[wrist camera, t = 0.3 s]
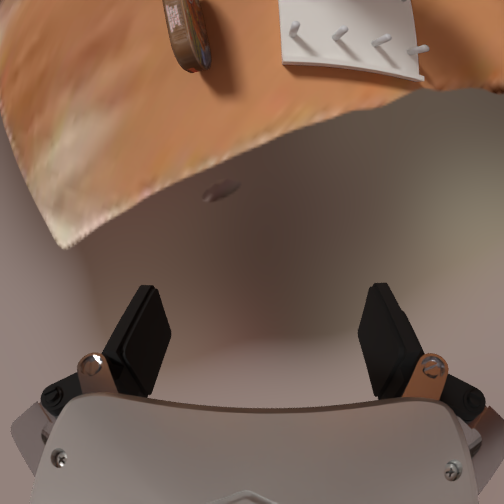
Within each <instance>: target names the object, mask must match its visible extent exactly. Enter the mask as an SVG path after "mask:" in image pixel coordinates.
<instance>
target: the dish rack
mask: <svg viewBox="0 0 504 504" xmlns="http://www.w3.org/2000/svg"><path fill="white" fill-rule="evenodd" d="M278 4H279V18H280V33H281V51H282V65H308V66H323V67H335V68H344V69H352V70H359V71H366V72H372V73H378V74H383V75H388V76H393V77H398V78H402V79H406V80H410V81H414V82H419V81H424V76H422V75H419V63H418V53H423V52H427V51H429V47H428V46H427V45H422V46H418V47H417V40H416V31H415V24H414V17H413V11H412V5H411V0H278Z"/></svg>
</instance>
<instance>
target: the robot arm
mask: <svg viewBox="0 0 504 504" xmlns="http://www.w3.org/2000/svg"><path fill="white" fill-rule="evenodd" d="M358 338H359V342H360V345H361V348H362V352H363V355H364V359H365V363H366V366H367V369H368V373H369V377H370V381H371V385H372V389H373V393H374V396H375V397H377V396H378V400H375V401H368V402H360V403H352V404H343V405H332V406H321V407H303V408H235V407H218V406H206V405H195V404H186V403H177V402H171V401H164V400H157V399H151V398H147V397H148V395H151V393H152V391H153V388H154V385H155V382H156V379H157V376H158V373H159V370H160V367H161V364H162V361H163V358H164V356H165V353H166V350H167V347H168V344H169V341H170V339H171V329H170V326H169V323H168V320H167V317H166V314H165V311H164V308H163V305H162V301H161V298H160V295H159V292H158V289H155V287H154V286H152V285H141V286H140V287H139V289H138V290H137V292H136V294H135V295H134V297H133V299H132V300H131V302H130V304H129V306H128V307H127V309H126V311H125V313H124V314H123V316H122V317H121V319H120V321H119V323H118V324H117V326H116V328H115V330H114V332H113V333H112V335H111V337H110V339H109V341H108V343H107V345H106V346H105V348H104V350H103V352H102V354H100V353H90V354H87V355H85V356H84V357H83V358H82V359H81V360H80V361H79V363H78V365H77V373H74V374H72V375H70V376H68V377H66V378H64V379H62V380H60V381H58V382H56V383H54V384H51V385H50V386H48V387H47V388H45V390H44V391H43V393H42V395H41V402H40V403H38V402H36V403H34V404H33V405H32V406H31V407H30V408H29V409H27V410H26V411H25V412H24V413H23V414H22V415H21V416H19V417H18V418H17V419H16V420H15V421H14V422H13V424H12V426H11V434H12V437H13V439H14V441H15V443H16V445H17V447H18V449H19V451H20V452H21V454H22V456H23V458H24V459H25V461H26V463H27V465H28V467H29V468H30V470H31V471H32V473H33V475H34V476H35V481H34V484H33V488H32V493H31V498H30V503H29V504H479V501H478V495H479V494H480V492H481V491H482V490H483V488H484V487H485V486H486V484H487V483H488V481H489V480H490V479H491V477H492V476H493V474H494V473H495V471H496V470H497V468H498V467H499V466H500V464H501V462H502V461H503V459H504V419H503V418H502V417H501V416H500V415H499V414H498V413H497V412H496V411H495V410H494V409H492V408H491V407H490V406H489V407H488V408H487V407H486V406H485V397H484V395H483V393H482V392H481V391H480V390H478V389H477V388H475V387H473V386H471V385H469V384H468V383H466V382H463V381H462V380H460V379H458V378H456V377H454V376H452V375H450V374H448V365H447V363H446V361H445V360H444V359H443V358H442V357H441V356H439V355H437V354H432V353H430V354H429V353H428V354H424V352H423V349H422V347H421V345H420V343H419V341H418V339H417V337H416V334H415V332H414V330H413V328H412V326H411V324H410V322H409V320H408V318H407V316H406V314H405V313H404V312H403V311H402V310H401V308H400V307H399V305H398V303H397V301H396V299H395V297H394V295H393V293H392V291H391V290H390V288H389V286H388V284H387V283H374V284H373V287H370V288H369V291H368V295H367V299H366V303H365V307H364V311H363V314H362V318H361V322H360V325H359V329H358Z"/></svg>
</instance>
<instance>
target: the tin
mask: <svg viewBox="0 0 504 504" xmlns="http://www.w3.org/2000/svg"><path fill="white" fill-rule="evenodd" d="M163 6H164V12H165V17H166V23H167V28H168V33H169V38H170V42H171V46H172V50H173V52H174V55H175V57H176V59H177V61H178V63H179V64H180V66H181V67H182V68H183V69H184V70H186V71H188V72H190V73H194V72H198V71H202V70H208V69H209V68H210V66H211V53H210V47H209V42H208V38H207V33H206V28H205V24H204V19H203V14H202V10H201V6H200V3H199V0H163Z"/></svg>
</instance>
